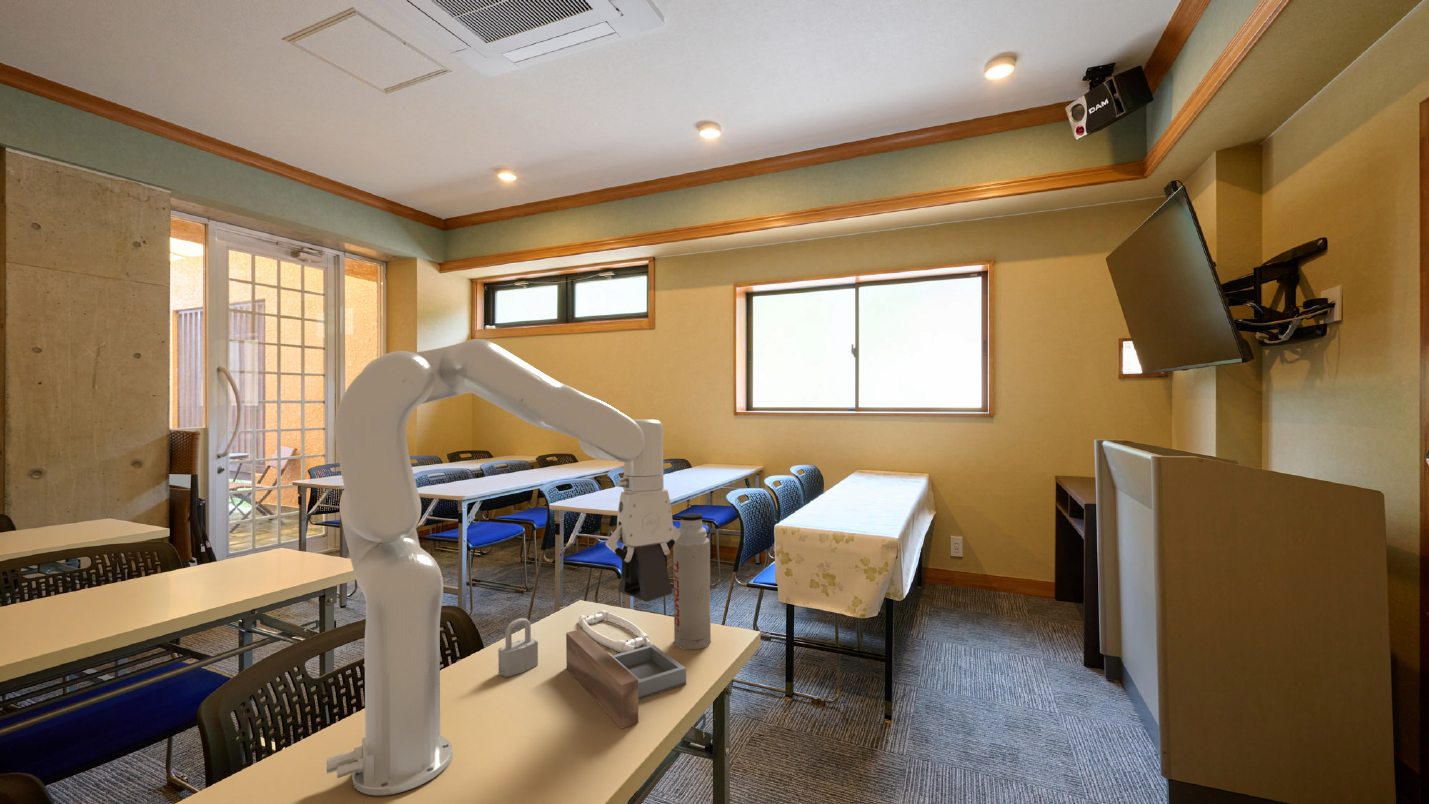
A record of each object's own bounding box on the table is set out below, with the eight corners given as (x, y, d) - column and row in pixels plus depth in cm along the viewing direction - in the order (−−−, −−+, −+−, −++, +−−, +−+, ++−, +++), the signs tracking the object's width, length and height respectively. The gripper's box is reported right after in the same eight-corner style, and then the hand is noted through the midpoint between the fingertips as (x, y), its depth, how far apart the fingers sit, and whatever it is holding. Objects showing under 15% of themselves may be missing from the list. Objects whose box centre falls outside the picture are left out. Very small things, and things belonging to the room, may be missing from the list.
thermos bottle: (675, 650, 120) (673, 518, 120) (673, 635, 128) (672, 511, 128) (712, 648, 121) (710, 517, 121) (708, 633, 129) (707, 510, 129)
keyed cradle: (637, 700, 100) (637, 683, 100) (607, 672, 111) (607, 656, 111) (686, 684, 105) (685, 668, 105) (653, 659, 116) (653, 644, 116)
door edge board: (621, 728, 91) (621, 684, 91) (566, 667, 113) (566, 632, 113) (639, 722, 93) (639, 679, 93) (582, 663, 114) (581, 628, 115)
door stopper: (618, 591, 109) (617, 529, 109) (642, 584, 114) (642, 524, 114) (647, 602, 103) (646, 536, 103) (672, 594, 107) (671, 530, 107)
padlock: (529, 660, 116) (528, 611, 116) (540, 666, 114) (539, 616, 114) (496, 673, 111) (496, 621, 111) (507, 679, 108) (506, 626, 108)
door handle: (621, 662, 116) (569, 625, 136) (661, 649, 122) (606, 616, 142) (620, 649, 116) (569, 614, 136) (661, 636, 122) (606, 605, 142)
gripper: (609, 490, 100) (610, 592, 100) (692, 482, 110) (693, 574, 110) (593, 485, 107) (594, 581, 107) (673, 478, 116) (674, 566, 116)
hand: (644, 577), depth 108 cm, fingers closed on door stopper, 6 cm apart
